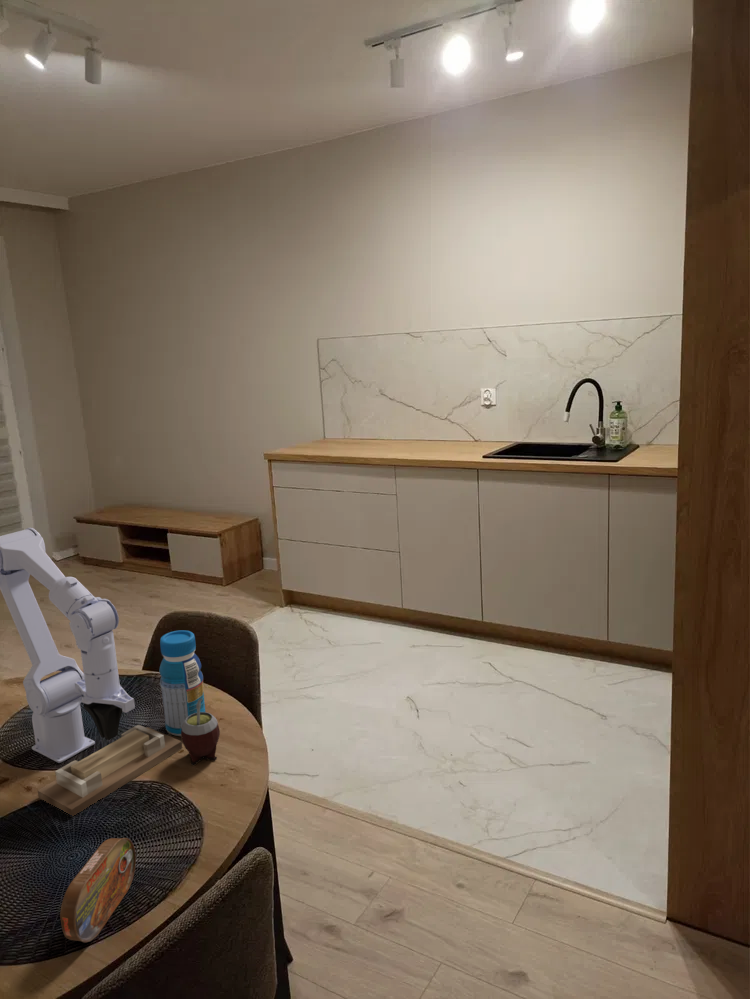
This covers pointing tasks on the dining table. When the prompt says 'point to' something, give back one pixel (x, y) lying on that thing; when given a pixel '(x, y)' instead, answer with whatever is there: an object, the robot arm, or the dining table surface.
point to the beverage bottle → (180, 679)
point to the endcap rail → (83, 793)
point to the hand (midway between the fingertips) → (109, 736)
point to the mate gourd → (200, 735)
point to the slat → (112, 756)
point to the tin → (98, 889)
